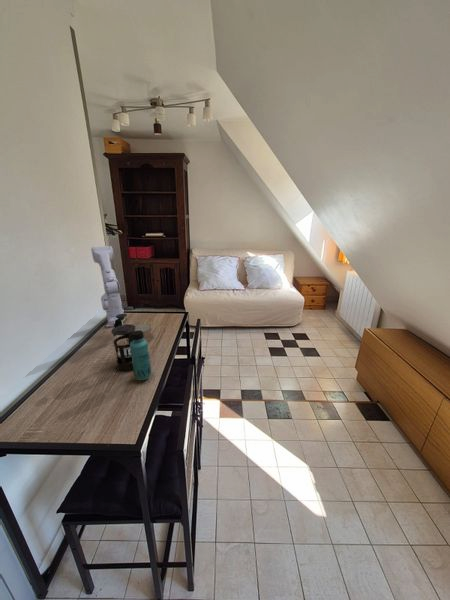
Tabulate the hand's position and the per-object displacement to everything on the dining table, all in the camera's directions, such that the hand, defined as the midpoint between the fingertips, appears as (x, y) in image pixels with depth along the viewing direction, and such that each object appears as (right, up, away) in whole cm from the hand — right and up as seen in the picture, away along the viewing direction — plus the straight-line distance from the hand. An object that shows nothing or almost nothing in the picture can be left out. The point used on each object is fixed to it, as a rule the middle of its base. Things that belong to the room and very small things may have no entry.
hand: (119, 331), depth 124 cm
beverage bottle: (+21, -15, -27) cm, 37 cm away
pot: (+11, -4, +3) cm, 12 cm away
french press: (+12, -12, -18) cm, 25 cm away
